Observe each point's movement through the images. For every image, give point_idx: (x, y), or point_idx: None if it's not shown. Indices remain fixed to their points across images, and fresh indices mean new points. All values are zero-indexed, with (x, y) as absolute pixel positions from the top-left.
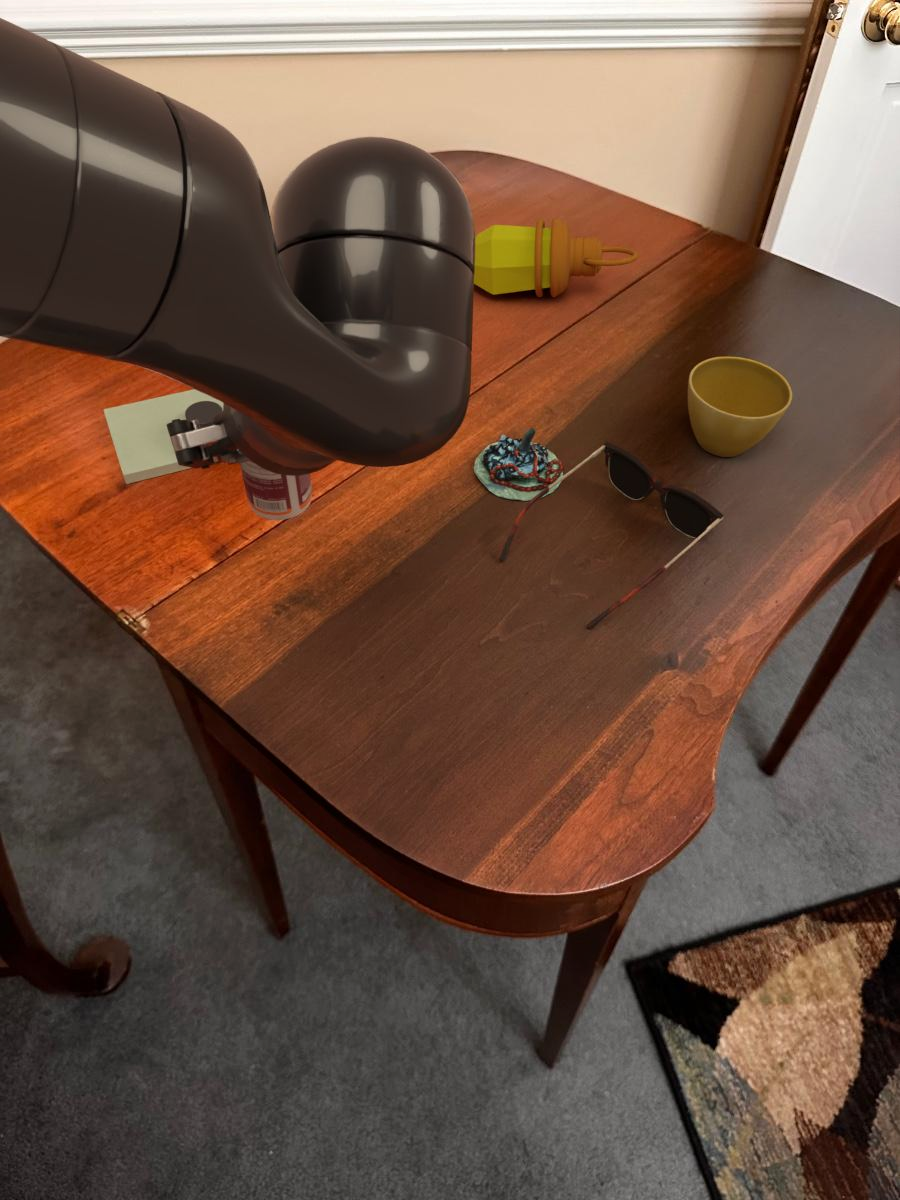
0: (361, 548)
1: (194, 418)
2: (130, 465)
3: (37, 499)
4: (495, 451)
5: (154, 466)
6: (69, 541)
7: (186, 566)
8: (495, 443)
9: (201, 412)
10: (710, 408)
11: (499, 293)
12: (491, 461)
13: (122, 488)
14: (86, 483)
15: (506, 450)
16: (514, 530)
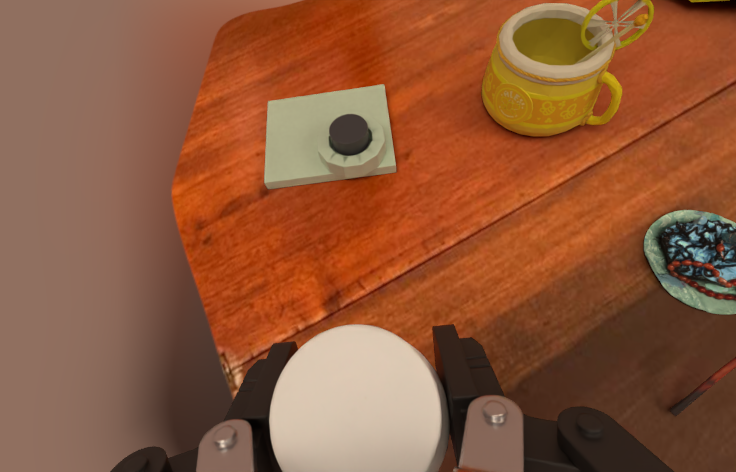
0: (486, 336)
1: (337, 135)
2: (273, 172)
3: (191, 191)
4: (684, 234)
5: (294, 177)
6: (202, 248)
7: (296, 310)
8: (676, 212)
9: (345, 128)
10: None
11: (701, 1)
12: (675, 247)
13: (263, 193)
14: (235, 181)
15: (702, 238)
16: (709, 387)
